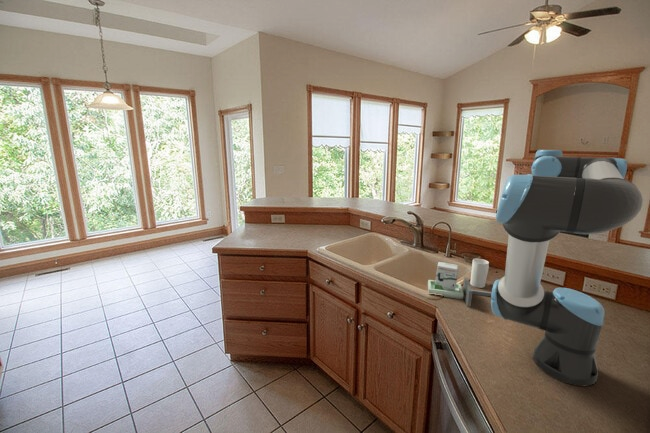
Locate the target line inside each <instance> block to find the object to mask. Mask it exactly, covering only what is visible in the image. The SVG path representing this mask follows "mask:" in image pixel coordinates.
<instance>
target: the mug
mask: <svg viewBox="0 0 650 433" xmlns="http://www.w3.org/2000/svg"><path fill="white" fill-rule="evenodd" d="M489 264H490V262H489V261H488V260H486V259H483V258H473V259H472V264H471V272H470V281H469V283H470V286H471V287H474V288H478V289H483V288H485V286H486V283H487V282H486V281H487V275H488V273H489V268H490V267H489V266H490V265H489Z"/></svg>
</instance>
